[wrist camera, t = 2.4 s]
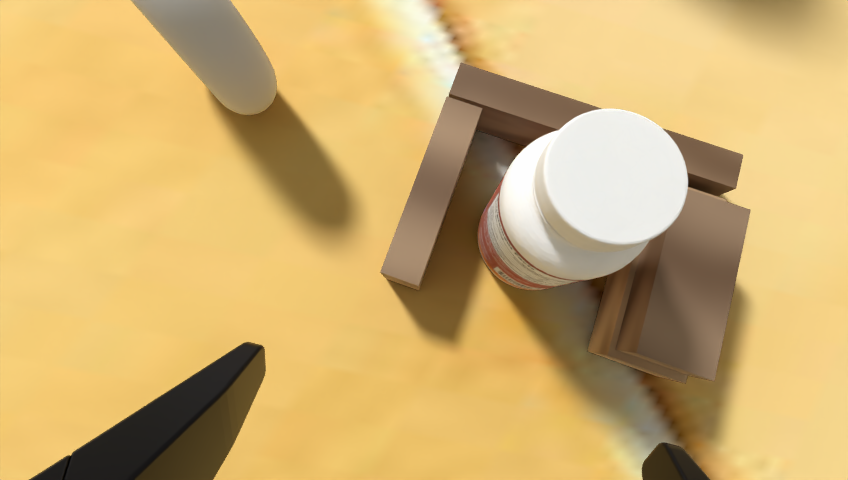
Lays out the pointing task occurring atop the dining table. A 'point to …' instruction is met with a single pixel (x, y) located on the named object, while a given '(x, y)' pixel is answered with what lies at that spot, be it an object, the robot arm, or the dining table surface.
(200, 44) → the grey rounded piece
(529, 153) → the pill bottle
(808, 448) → the dining table surface
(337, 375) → the dining table surface
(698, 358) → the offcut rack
